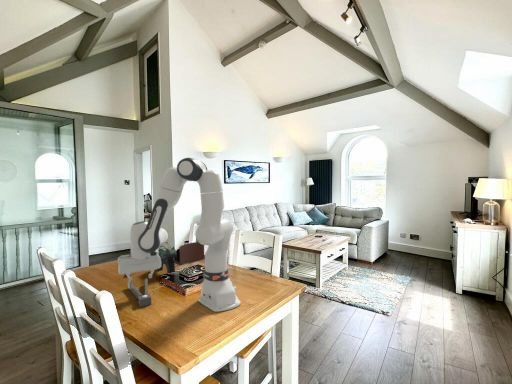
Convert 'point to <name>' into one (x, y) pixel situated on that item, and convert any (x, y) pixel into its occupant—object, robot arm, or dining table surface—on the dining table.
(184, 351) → the dining table surface
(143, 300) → the tong hinge block
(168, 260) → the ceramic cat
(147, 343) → the dining table surface
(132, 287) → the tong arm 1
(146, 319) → the dining table surface
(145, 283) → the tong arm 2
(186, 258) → the letter holder
